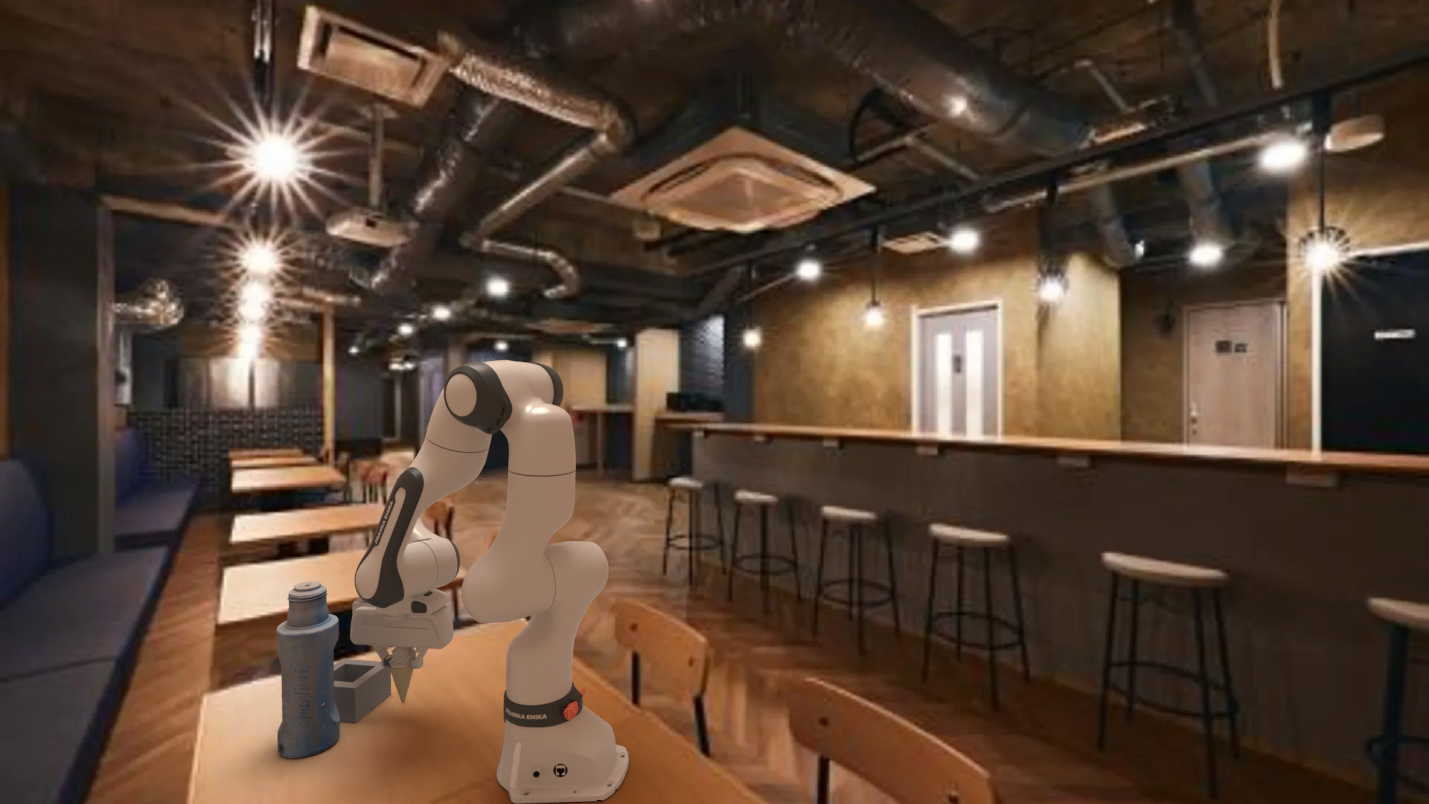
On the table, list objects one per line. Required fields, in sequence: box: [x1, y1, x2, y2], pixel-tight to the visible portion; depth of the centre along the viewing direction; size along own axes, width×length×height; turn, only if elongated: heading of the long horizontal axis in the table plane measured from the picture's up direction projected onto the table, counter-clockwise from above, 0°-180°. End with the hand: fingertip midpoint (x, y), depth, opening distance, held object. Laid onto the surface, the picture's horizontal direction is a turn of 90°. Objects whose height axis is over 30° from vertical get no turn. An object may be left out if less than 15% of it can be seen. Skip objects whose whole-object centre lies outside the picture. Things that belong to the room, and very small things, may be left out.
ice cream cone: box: [388, 647, 417, 705], centre depth 127 cm, size 5×5×15 cm
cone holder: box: [334, 658, 392, 724], centre depth 131 cm, size 11×11×7 cm
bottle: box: [275, 580, 341, 759], centre depth 117 cm, size 10×10×30 cm
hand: (402, 666), depth 127 cm, fingers closed on ice cream cone, 5 cm apart
